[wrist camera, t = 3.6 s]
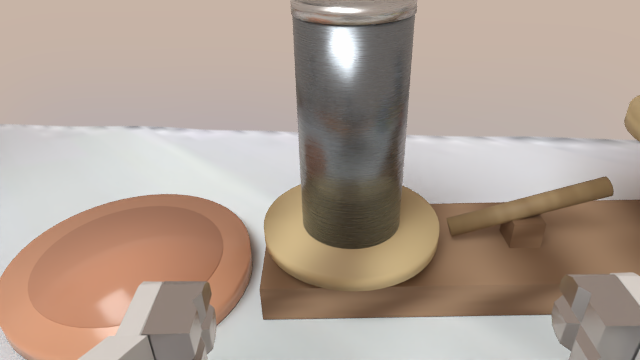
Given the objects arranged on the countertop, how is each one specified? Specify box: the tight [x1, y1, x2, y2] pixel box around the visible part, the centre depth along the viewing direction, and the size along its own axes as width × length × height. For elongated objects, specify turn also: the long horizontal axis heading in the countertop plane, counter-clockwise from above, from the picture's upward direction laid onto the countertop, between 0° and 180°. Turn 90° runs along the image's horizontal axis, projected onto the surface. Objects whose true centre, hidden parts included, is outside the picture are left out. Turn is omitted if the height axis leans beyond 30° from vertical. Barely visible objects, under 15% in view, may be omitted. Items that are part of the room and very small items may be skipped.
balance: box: [260, 95, 640, 319], centre depth 25 cm, size 27×9×8 cm, turn 90°
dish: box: [0, 194, 252, 360], centre depth 27 cm, size 13×13×1 cm
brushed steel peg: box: [291, 0, 417, 249], centre depth 22 cm, size 5×5×11 cm
